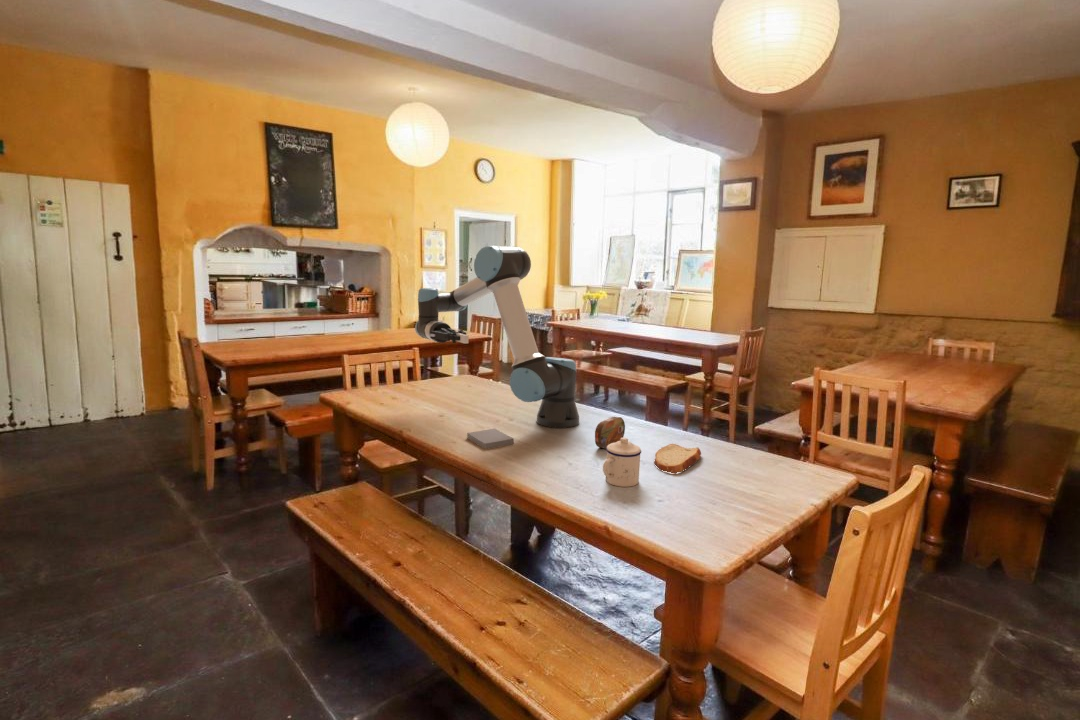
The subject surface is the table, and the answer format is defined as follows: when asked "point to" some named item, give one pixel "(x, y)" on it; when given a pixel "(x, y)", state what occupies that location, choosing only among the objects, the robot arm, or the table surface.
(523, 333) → the robot arm
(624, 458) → the teacup with lid
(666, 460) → the bread slice
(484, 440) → the ceramic tile
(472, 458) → the table surface
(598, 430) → the tin
